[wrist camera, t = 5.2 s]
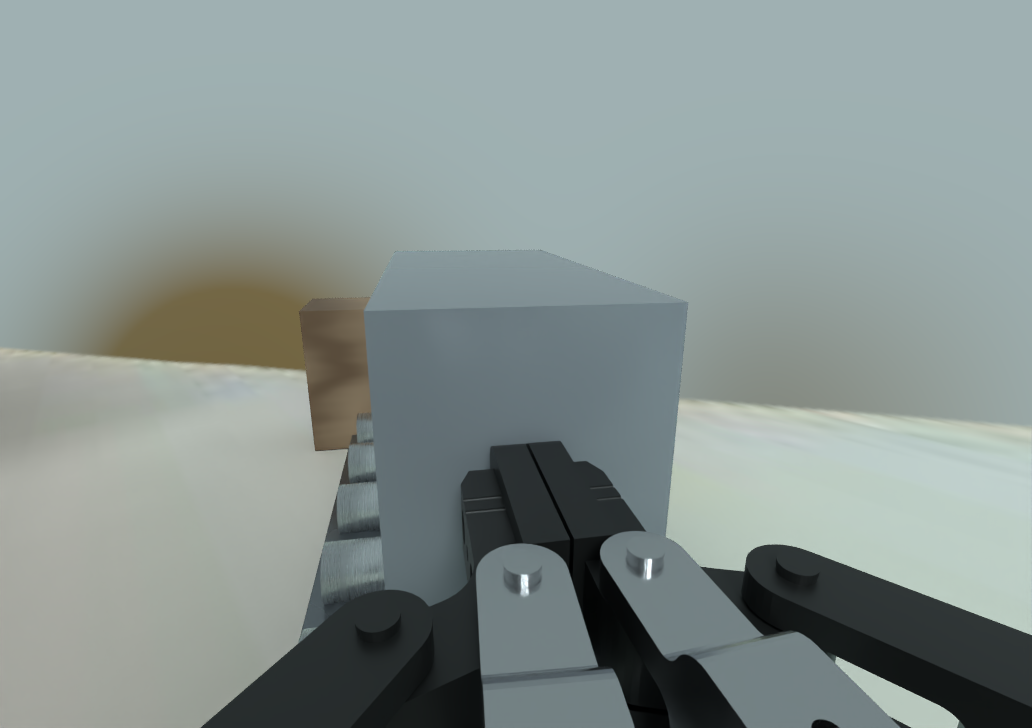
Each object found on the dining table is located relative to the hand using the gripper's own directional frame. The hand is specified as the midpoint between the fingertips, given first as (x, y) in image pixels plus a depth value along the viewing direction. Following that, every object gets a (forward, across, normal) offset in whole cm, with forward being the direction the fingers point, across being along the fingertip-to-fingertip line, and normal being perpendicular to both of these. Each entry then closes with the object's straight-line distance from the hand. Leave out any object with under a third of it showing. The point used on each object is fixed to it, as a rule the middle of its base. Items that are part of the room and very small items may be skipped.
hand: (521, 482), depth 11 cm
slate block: (+7, 0, +5) cm, 9 cm away
